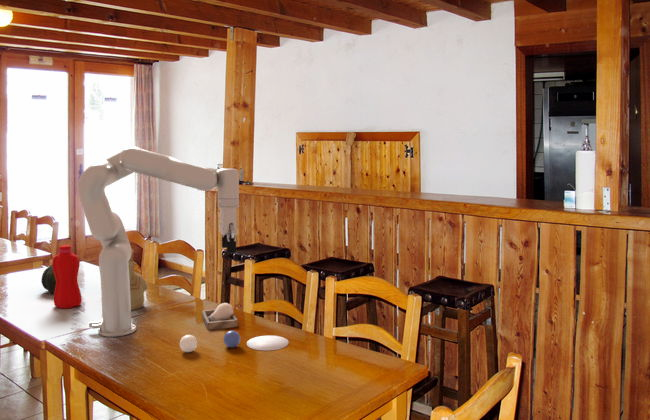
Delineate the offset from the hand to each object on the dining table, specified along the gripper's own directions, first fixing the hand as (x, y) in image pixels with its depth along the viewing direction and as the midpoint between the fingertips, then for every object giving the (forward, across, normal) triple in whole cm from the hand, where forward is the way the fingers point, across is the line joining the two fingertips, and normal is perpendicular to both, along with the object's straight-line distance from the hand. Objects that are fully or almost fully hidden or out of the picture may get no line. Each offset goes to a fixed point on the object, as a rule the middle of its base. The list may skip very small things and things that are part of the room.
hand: (228, 249), depth 213 cm
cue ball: (+25, +22, -18) cm, 38 cm away
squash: (+29, -72, -62) cm, 99 cm away
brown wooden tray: (+28, -5, -3) cm, 29 cm away
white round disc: (+28, +23, +8) cm, 37 cm away
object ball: (+25, +23, -4) cm, 34 cm away
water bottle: (+29, -46, -58) cm, 80 cm away
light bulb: (+28, -5, -3) cm, 29 cm away
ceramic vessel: (+28, -36, -35) cm, 58 cm away
